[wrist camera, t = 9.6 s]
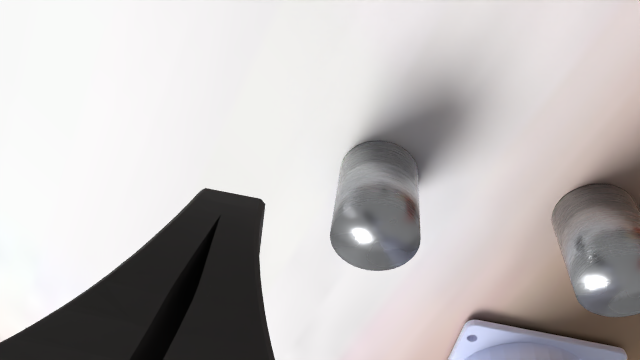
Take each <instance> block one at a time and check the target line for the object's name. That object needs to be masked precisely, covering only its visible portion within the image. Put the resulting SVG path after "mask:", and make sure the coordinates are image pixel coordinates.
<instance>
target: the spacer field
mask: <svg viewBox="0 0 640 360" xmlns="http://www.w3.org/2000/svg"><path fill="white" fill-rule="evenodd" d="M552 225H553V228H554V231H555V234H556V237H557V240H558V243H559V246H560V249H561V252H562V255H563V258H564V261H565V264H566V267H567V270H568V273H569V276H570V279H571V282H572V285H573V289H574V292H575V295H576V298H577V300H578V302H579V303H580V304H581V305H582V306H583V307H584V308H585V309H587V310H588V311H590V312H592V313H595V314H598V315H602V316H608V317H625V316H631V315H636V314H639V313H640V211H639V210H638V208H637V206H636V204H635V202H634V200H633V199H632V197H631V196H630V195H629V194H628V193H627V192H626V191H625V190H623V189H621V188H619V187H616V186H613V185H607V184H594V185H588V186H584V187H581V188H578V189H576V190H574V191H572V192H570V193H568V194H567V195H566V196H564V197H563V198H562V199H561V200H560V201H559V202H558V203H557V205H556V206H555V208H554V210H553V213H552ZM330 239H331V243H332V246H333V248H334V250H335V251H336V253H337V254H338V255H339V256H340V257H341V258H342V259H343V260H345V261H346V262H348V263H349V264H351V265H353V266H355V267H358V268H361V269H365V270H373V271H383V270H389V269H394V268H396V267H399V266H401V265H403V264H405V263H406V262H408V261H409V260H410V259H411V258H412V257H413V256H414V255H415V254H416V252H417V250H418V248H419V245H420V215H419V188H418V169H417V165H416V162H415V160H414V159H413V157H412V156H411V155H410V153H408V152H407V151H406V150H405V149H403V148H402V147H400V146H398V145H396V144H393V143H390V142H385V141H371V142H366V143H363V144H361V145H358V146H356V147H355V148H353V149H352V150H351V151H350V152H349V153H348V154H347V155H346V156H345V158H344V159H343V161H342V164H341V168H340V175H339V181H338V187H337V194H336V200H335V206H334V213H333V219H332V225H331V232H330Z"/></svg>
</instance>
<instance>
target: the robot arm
mask: <svg viewBox="0 0 640 360" xmlns="http://www.w3.org/2000/svg"><path fill="white" fill-rule="evenodd" d="M264 210H265V203H264V202H263V201H262V200H261V199H258V198H253V197H248V196H243V195H238V194H233V193H227V192H222V191H217V190H212V189H207V188H205V189H203V190H202V191H200V192H199V193H198V194H197V195H196V196H195V197H194V198H193V199H192V200H191V201H190V203H189V204H188V205H187V206H186V207H185V208H184V209H183V210H182V211H181V212H180V213H179V214H178V215H177V216H176V217H175V218H173V219H172V220H171V221H170V222H169V223H168V224H167V225H166V226H165V227H164V228H163V229H162V230H161V231H160V232H158V233H157V234H156V235H155V236H154V237H153V238H152V239H151V240H150V241H148V242H147V243H146V244H145V245H144V246H143V247H142V248H141V249H139V250H138V251H137V252H136V253H135V254H133V255H132V256H131V257H130V258H128V259H127V260H126V261H125V262H123V263H122V264H121V265H120V266H118V267H117V268H116V269H115V270H113V271H112V272H111V273H110V274H108V275H107V276H106V277H104V278H103V279H102V280H100V281H99V282H97V283H96V284H95V285H93V286H92V287H91V288H89V289H88V290H86V291H85V292H83V293H82V294H80V295H79V296H77V297H76V298H75V299H73V300H72V301H70V302H69V303H67V304H66V305H64V306H62V307H61V308H59V309H58V310H56V311H54V312H53V313H51V314H49V315H48V316H46V317H45V318H43V319H41V320H40V321H38V322H36V323H35V324H33V325H31V326H30V327H28V328H26V329H24V330H23V331H21V332H19V333H17V334H16V335H14V336H12V337H10V338H8V339H6V340H4V341H2V342H0V360H275V358H274V354H273V350H272V346H271V341H270V337H269V332H268V327H267V322H266V316H265V310H264V303H263V296H262V288H261V278H260V262H259V253H260V244H261V236H262V227H263V219H264ZM448 360H627V355H626V352H625V350H624V349H622V348H619V347H615V346H610V345H604V344H599V343H594V342H589V341H584V340H579V339H574V338H569V337H563V336H558V335H553V334H548V333H543V332H538V331H533V330H528V329H522V328H517V327H512V326H507V325H502V324H497V323H492V322H487V321H481V320H470V321H468V322H466V323H465V325H464V327H463V329H462V331H461V333H460V335H459V337H458V339H457V341H456V344H455V346H454V348H453V350H452V352H451V354H450V356H449V358H448Z"/></svg>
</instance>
